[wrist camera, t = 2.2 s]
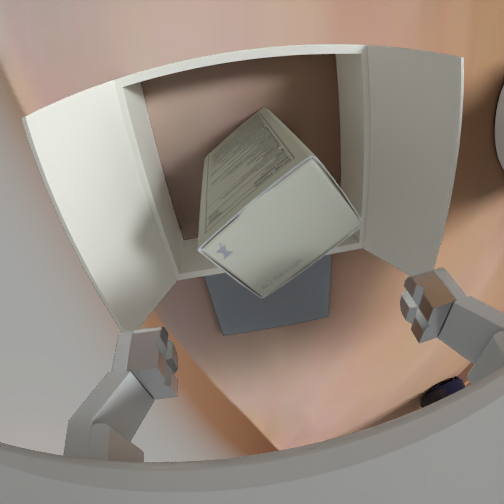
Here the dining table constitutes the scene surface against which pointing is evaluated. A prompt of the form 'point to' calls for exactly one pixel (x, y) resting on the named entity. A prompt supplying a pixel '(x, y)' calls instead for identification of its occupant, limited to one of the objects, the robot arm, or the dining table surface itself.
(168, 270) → the carton
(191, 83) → the dining table surface
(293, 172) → the skincare box
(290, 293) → the mat
